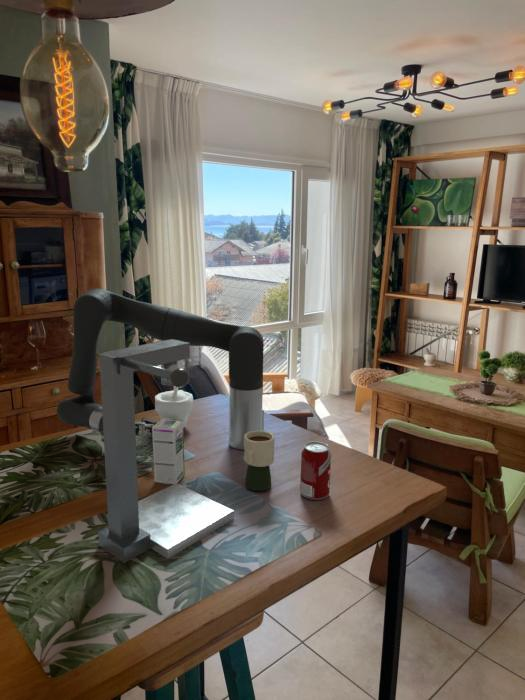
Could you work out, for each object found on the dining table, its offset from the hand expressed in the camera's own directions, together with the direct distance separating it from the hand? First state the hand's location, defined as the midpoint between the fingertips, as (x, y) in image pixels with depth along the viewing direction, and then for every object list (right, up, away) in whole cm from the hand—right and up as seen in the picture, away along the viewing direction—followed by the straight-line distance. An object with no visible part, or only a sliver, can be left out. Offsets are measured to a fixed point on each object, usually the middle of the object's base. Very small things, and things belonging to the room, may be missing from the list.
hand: (148, 439), depth 130 cm
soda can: (+41, -11, -9) cm, 43 cm away
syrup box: (+6, -9, -3) cm, 11 cm away
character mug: (+28, -10, -6) cm, 30 cm away
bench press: (+11, -15, -26) cm, 32 cm away
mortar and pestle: (+1, -1, +30) cm, 30 cm away
